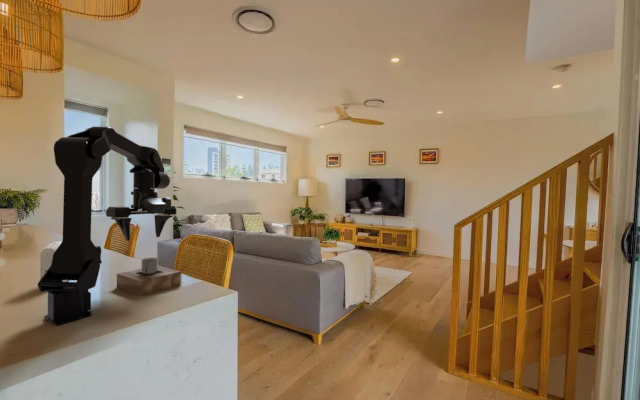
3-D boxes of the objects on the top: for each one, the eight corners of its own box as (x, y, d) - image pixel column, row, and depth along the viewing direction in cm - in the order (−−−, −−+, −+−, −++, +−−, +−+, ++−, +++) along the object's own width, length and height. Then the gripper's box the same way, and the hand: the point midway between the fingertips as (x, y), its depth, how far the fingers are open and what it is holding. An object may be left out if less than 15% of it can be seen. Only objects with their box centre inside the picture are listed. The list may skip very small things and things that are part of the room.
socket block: (140, 295, 81) (140, 281, 81) (116, 287, 87) (116, 273, 87) (180, 284, 91) (180, 271, 91) (157, 277, 97) (157, 265, 97)
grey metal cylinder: (146, 289, 86) (146, 261, 86) (138, 286, 88) (138, 259, 88) (159, 285, 90) (160, 258, 90) (151, 283, 92) (152, 257, 92)
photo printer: (56, 289, 84) (56, 244, 84) (37, 290, 83) (37, 245, 83) (74, 278, 94) (74, 239, 94) (57, 279, 93) (57, 239, 93)
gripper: (126, 188, 82) (125, 246, 82) (187, 189, 98) (186, 238, 98) (105, 187, 87) (104, 241, 88) (166, 189, 103) (165, 234, 104)
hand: (143, 238), depth 94 cm, fingers open, 9 cm apart
